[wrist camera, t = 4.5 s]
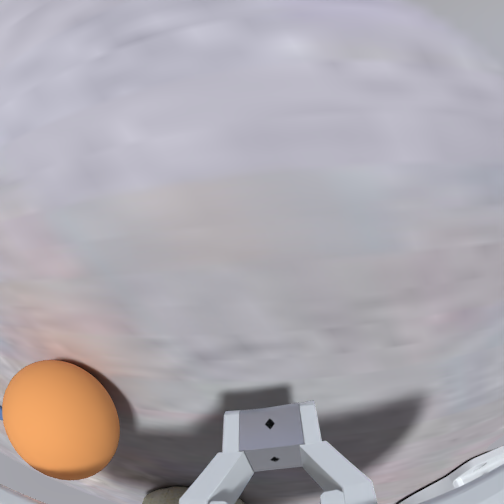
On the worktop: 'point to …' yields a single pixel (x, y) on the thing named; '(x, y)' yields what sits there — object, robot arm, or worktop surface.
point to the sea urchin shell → (169, 496)
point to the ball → (60, 420)
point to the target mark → (1, 413)
